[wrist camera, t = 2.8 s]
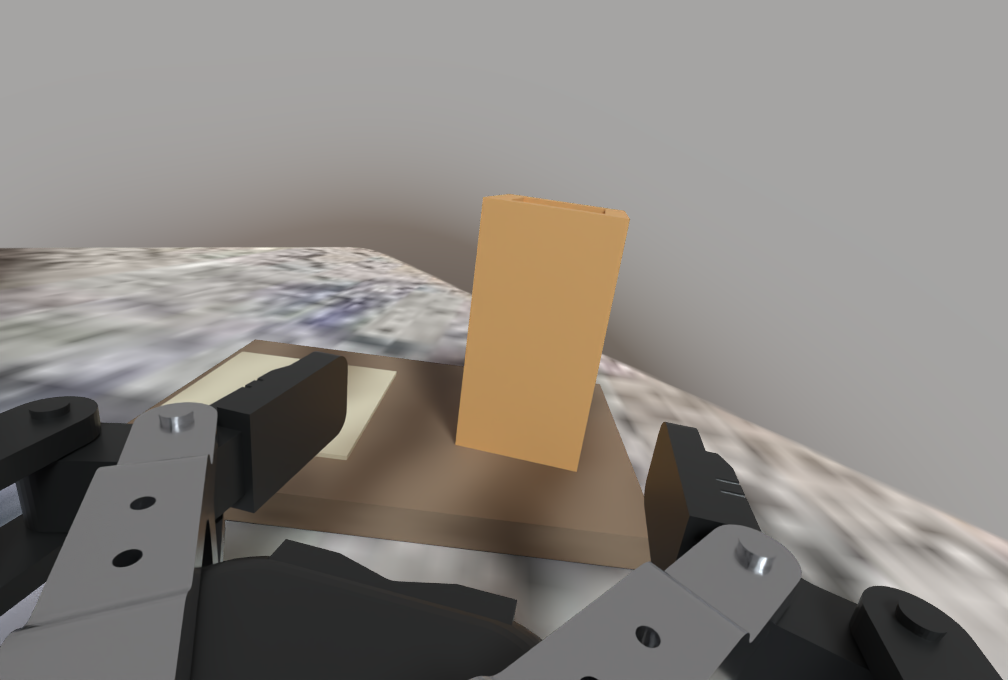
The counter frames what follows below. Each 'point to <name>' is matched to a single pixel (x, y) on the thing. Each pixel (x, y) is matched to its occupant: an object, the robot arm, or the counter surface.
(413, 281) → the counter surface
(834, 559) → the counter surface
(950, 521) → the counter surface
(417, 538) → the post board
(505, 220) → the sleeve
